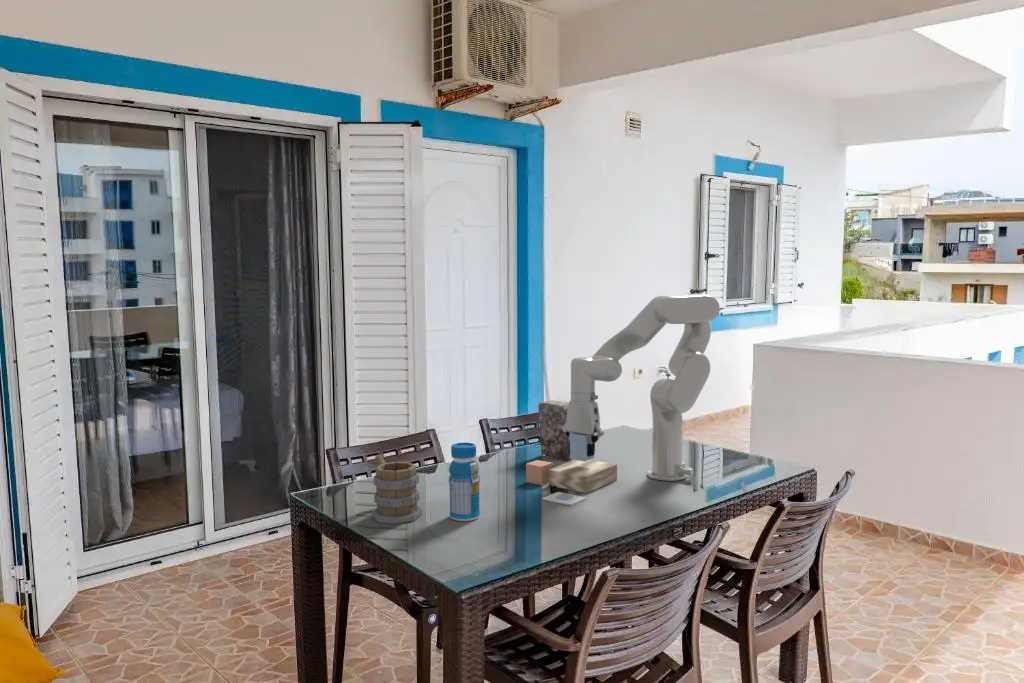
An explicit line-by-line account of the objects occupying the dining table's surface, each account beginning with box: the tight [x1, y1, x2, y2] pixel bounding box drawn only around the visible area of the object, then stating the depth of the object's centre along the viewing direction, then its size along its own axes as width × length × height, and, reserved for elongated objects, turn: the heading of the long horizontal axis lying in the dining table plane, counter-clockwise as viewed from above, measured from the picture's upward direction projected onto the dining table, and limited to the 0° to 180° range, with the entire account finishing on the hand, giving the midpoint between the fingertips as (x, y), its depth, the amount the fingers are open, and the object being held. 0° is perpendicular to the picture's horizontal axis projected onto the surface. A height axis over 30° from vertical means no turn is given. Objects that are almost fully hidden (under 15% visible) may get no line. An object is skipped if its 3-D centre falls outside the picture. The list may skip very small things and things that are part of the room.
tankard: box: [371, 453, 423, 525], centre depth 208 cm, size 20×13×15 cm, turn 30°
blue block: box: [570, 433, 595, 461], centre depth 235 cm, size 6×6×8 cm
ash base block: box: [548, 459, 618, 494], centre depth 236 cm, size 14×18×5 cm
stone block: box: [538, 399, 572, 462], centre depth 268 cm, size 13×7×20 cm, turn 49°
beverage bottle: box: [448, 442, 481, 522], centre depth 203 cm, size 8×8×20 cm
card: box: [541, 491, 587, 507], centre depth 219 cm, size 10×8×1 cm
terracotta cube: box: [525, 459, 553, 486], centre depth 238 cm, size 6×6×6 cm
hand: (582, 453), depth 235 cm, fingers closed on blue block, 5 cm apart
